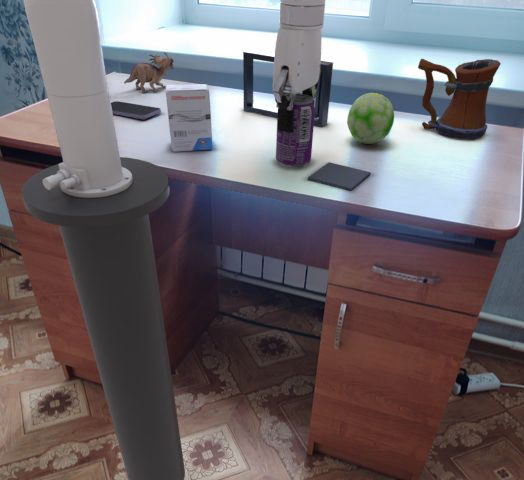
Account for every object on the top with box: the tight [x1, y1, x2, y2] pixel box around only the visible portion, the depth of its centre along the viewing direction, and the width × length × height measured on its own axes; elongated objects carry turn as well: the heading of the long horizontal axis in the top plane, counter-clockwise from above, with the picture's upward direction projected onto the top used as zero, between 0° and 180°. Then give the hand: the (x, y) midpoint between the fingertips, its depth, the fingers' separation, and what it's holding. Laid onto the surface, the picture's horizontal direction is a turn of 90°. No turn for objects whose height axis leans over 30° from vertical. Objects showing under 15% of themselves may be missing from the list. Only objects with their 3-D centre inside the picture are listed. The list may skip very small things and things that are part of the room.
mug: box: [417, 58, 501, 141], centre depth 113 cm, size 18×12×15 cm, turn 77°
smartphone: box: [111, 100, 162, 121], centre depth 124 cm, size 7×1×15 cm
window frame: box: [242, 49, 334, 128], centre depth 119 cm, size 3×22×13 cm, turn 58°
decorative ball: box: [346, 92, 395, 145], centre depth 108 cm, size 10×10×10 cm
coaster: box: [307, 162, 372, 192], centre depth 96 cm, size 9×9×1 cm
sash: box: [285, 71, 322, 118], centre depth 115 cm, size 6×10×10 cm, turn 58°
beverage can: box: [275, 94, 315, 168], centre depth 98 cm, size 7×7×12 cm
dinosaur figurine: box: [123, 52, 175, 94], centre depth 136 cm, size 14×6×9 cm, turn 101°
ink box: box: [165, 83, 213, 153], centre depth 103 cm, size 8×5×12 cm, turn 100°
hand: (295, 124), depth 97 cm, fingers closed on beverage can, 7 cm apart
